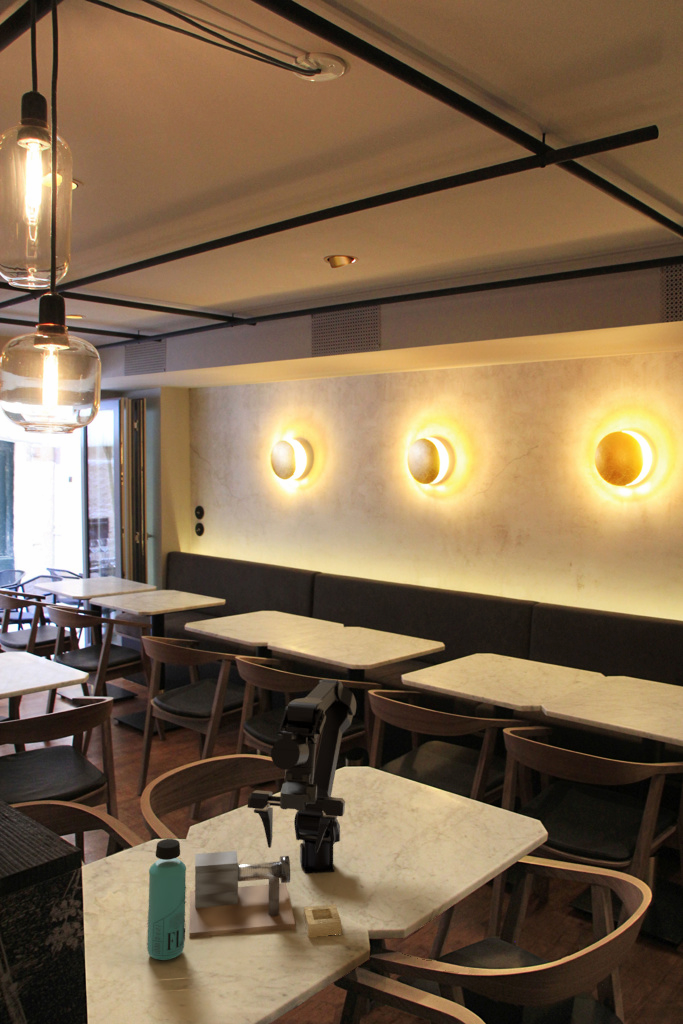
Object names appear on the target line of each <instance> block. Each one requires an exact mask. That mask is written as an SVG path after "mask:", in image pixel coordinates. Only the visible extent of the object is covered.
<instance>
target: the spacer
mask: <svg viewBox="0 0 683 1024" xmlns="http://www.w3.org/2000/svg"><path fill="white" fill-rule="evenodd" d="M303 923H304V927H305V931H306V935H307V938H308V937H312V938H318V937H317V936H326V937H328V936H327V935H335V934H336V936H339V935H338V934H341V935H342V921H341V917H340V914H339V912H338V908H337V905H336V904H322V905H314V906H313V905H312V906H311V905H310V906H304V907H303Z"/></svg>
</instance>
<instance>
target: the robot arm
mask: <svg viewBox="0 0 683 1024" xmlns="http://www.w3.org/2000/svg"><path fill="white" fill-rule="evenodd" d="M356 711H357V700H356V697H355V695H354V692H352V691H351V690H350V689H348V688H347V687H345V686H344V685H343V682H342V681H341V680H340V681H339V680H337V679H327V678H325V679H323V678H322V679H319V680H318V682H317V686H316V687H314V688H313V689H312V690H311V691H310V693H309V694H307V696H305V697H302V698H295V699H293V700H291V701H290V702H289V703H288V704H287V705H286V707H285V708H284V711H283V714H282V718H281V720H280V724H279V727H278V730H277V735H279V736H281V737H282V738H280V739H278V740H277V741H275V743H274V744H273V746H272V748H271V750H270V757H271V761H272V763H273V764H274V766H276V767H277V768H279V769H280V770H284V771H285V772H284V773H285V774H284V780H283V782H282V785H281V790H280V794H279V795H280V796H279V795H278V796H277V795H273V791H270V790H259V789H256V790H254V791H252V792H251V793H250V794H249V795H248V798H247V807H246V808H250V809H253V812H254V813H255V814H258V815H259V818H260V819H261V823H262V825H263V829H264V833H265V838H266V842H267V847H268V848H269V849H270V848H272V843H273V827H274V826H273V823H274V822H273V817H274V816H273V815H274V810H273V809H274V808H273V807H279V808H280V809H282V810H296V811H295V812H296V813H295V816H294V821H293V822H294V832H295V833H294V834H295V839H296V841H299V840H300V841H302V843H300V844H299V863H300V867H301V868H303V872H304V874H321V873H334V872H335V869H336V868H335V865H334V846H335V844H336V843H338V842H340V841H341V824H340V823H339V820H338V819H337V818H338V817H343V816H344V814H345V810H346V801H345V799H344V798H343V797H336V796H332V793H333V792H332V791H333V788H334V787H333V786H334V781H335V775H336V770H337V765H338V764H337V763H338V760H339V753H340V747H341V743H342V737H343V734H344V733H345V732H346V730H348V728H349V727H350V726H351V725H352V721H353V718H354V716H355V715H356ZM319 735H320V742H319V746H318V752H317V756H316V751H317V750H316V749H317V742H318V738H319ZM271 806H273V807H271Z"/></svg>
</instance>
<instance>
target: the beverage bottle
mask: <svg viewBox="0 0 683 1024" xmlns="http://www.w3.org/2000/svg"><path fill="white" fill-rule="evenodd" d="M180 844H181V843H180V841H179V840H177V839H174V838H165V839H162V840H160V841H158V842H157V843H156V848H155V857H156V858H157V860H156V861H155V862H153V863H152V865H151V866H150V867H149V869H148V875H149V877H148V878H149V880H148V881H149V883H148V888H149V889H148V909H147V912H148V913H147V917H146V919H147V920H146V921H147V923H146V925H147V929H146V930H147V932H146V934H147V937H146V940H147V942H146V948H145V949H147V953H148V955H149V956H150V958H153V959H154V960H155V959H156V960H162V961H166V960H171V959H174V958H175V959H176V957H178V956H180V955H181V954H182V953H183V951H184V948H185V942H186V925H187V924H186V917H185V916H186V914H187V913H186V903H187V901H186V898H187V896H186V889H187V883H186V876H187V875H186V872H187V867H186V865H185V863H184V862H183V861H182V860H181V859H179V856H181V845H180Z"/></svg>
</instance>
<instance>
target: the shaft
mask: <svg viewBox="0 0 683 1024" xmlns="http://www.w3.org/2000/svg"><path fill="white" fill-rule="evenodd" d="M290 861H291V859H290V855H283V856H282V855H281V856H279V861H269V862H268V861H267V862H255V863H241V864H238V883H239V882H247V881H248V882H249V881H250V882H251V881H260V880H269V878H271V877H278V878H279V881H280V884H281V883H286V884H289V883H290V882H291V862H290Z"/></svg>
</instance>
